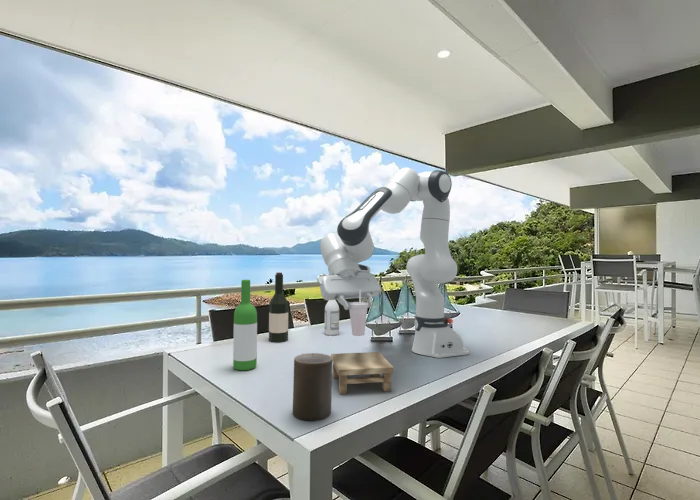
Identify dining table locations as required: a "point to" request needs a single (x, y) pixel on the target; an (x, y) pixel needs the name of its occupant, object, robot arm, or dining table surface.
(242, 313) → the wine bottle
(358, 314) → the smoothie
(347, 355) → the footstool
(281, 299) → the wine bottle
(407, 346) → the dining table surface
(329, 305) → the bath foam
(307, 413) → the pillar candle
